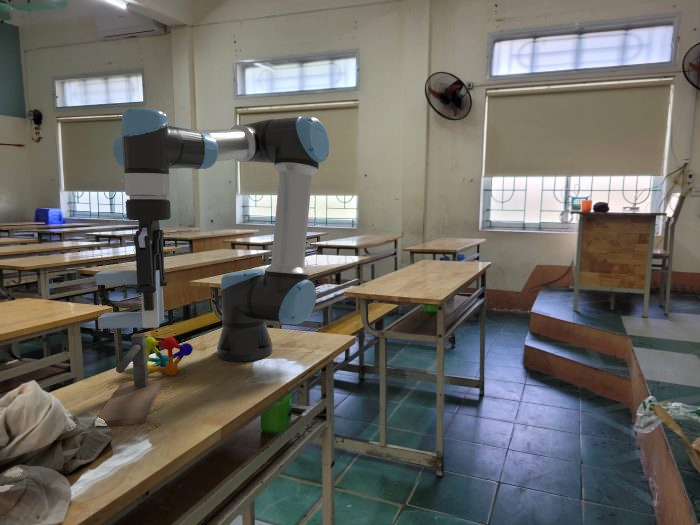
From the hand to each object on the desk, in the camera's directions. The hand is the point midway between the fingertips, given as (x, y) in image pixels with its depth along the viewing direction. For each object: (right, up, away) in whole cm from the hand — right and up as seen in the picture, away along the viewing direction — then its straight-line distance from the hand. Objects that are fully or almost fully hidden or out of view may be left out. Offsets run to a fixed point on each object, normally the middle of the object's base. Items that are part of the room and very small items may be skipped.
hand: (153, 323), depth 92 cm
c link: (-4, 0, -1) cm, 4 cm away
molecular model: (-11, -16, +32) cm, 38 cm away
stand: (-10, -19, +13) cm, 25 cm away
